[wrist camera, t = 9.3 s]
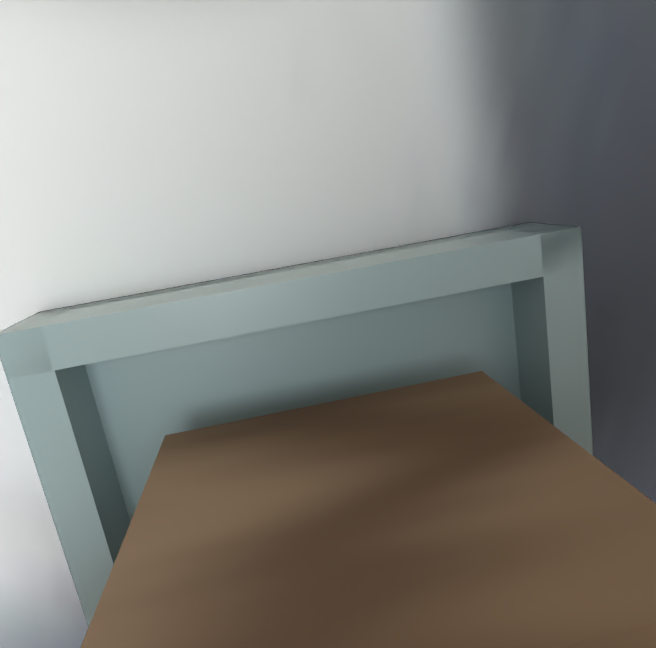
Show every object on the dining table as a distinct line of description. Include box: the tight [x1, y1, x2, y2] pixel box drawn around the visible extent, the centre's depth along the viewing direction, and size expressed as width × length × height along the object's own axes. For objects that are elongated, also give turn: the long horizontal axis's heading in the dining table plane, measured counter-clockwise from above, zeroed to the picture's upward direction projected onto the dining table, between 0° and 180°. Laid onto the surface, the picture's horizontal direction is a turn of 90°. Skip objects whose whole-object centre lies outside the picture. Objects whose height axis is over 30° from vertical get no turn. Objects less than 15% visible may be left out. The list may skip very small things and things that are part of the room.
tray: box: [0, 223, 593, 627], centre depth 12 cm, size 11×11×2 cm
